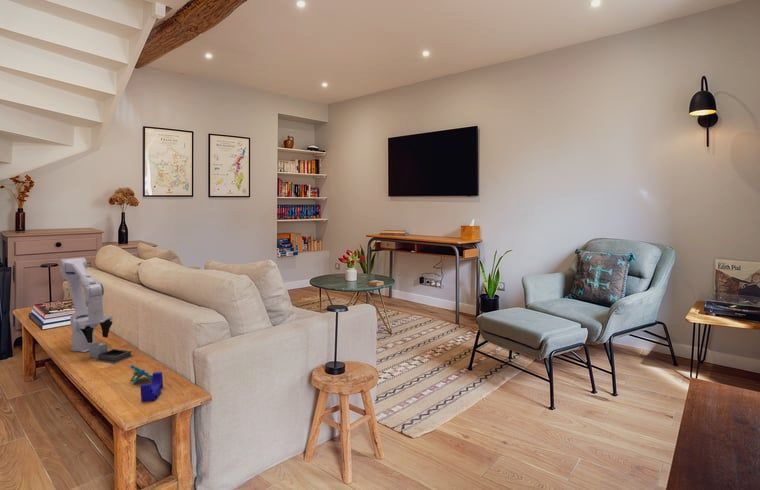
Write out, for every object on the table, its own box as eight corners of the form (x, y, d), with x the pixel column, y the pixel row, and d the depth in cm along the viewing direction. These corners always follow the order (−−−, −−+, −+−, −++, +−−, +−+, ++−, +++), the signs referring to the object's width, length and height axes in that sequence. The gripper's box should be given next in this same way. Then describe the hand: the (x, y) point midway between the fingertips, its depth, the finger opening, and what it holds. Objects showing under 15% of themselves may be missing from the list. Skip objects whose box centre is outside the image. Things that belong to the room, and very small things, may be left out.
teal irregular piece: (159, 377, 174) (137, 365, 169) (149, 391, 171) (126, 379, 166) (148, 374, 182) (127, 361, 176) (138, 387, 179) (117, 375, 173)
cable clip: (154, 401, 158) (153, 385, 158) (141, 402, 158) (140, 385, 157) (167, 386, 170) (166, 371, 169) (154, 387, 170) (153, 372, 169)
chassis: (95, 360, 196) (95, 355, 196) (115, 353, 206) (114, 347, 205) (114, 363, 193) (114, 358, 192) (133, 355, 202) (133, 350, 202)
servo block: (90, 356, 201) (89, 344, 200) (98, 353, 205) (97, 341, 204) (99, 358, 199) (99, 345, 199) (107, 355, 203) (107, 342, 202)
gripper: (87, 315, 191) (89, 345, 193) (116, 307, 205) (118, 335, 207) (75, 314, 194) (77, 344, 195) (104, 306, 207) (107, 334, 209)
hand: (97, 339), depth 201 cm, fingers open, 7 cm apart
